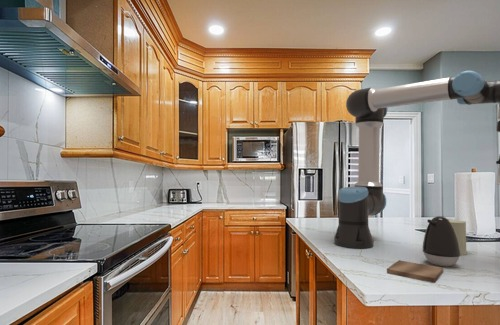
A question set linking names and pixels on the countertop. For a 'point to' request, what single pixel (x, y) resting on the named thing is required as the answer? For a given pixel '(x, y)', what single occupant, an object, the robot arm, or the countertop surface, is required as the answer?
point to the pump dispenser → (441, 242)
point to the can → (460, 234)
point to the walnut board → (415, 271)
